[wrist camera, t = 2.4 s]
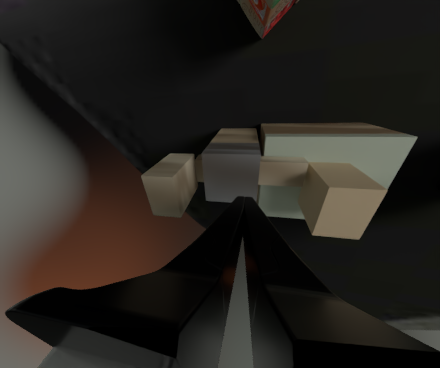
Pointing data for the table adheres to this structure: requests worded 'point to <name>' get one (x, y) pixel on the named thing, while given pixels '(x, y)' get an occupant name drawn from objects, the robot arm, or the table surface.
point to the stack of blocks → (265, 13)
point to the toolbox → (256, 155)
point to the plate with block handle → (335, 179)
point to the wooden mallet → (193, 173)
